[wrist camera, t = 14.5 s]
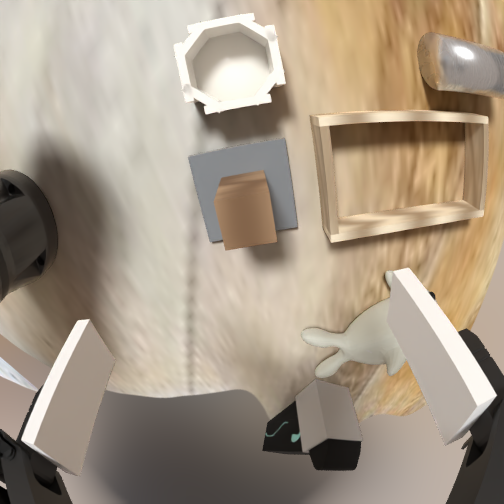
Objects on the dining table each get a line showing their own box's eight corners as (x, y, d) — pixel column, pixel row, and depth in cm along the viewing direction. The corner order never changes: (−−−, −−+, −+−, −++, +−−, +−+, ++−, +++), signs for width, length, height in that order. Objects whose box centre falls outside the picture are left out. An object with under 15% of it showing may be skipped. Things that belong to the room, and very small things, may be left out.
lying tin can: (425, 94, 22) (459, 83, 17) (411, 42, 21) (440, 24, 15) (487, 100, 22) (520, 96, 16) (475, 54, 20) (505, 44, 14)
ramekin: (196, 117, 25) (187, 120, 21) (179, 39, 21) (168, 29, 17) (284, 101, 24) (290, 101, 21) (268, 21, 20) (271, 9, 17)
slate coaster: (210, 239, 31) (210, 242, 30) (189, 155, 26) (188, 156, 26) (296, 224, 30) (297, 227, 29) (284, 137, 26) (284, 138, 25)
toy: (424, 337, 40) (450, 383, 31) (315, 375, 42) (326, 429, 34) (431, 248, 32) (474, 294, 23) (290, 293, 34) (302, 357, 26)
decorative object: (257, 426, 50) (260, 493, 37) (315, 378, 43) (331, 462, 30) (291, 432, 52) (298, 495, 39) (351, 387, 45) (371, 462, 32)
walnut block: (229, 216, 29) (225, 250, 23) (221, 177, 27) (213, 201, 21) (270, 209, 29) (277, 241, 22) (263, 169, 27) (269, 191, 20)
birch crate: (322, 227, 30) (331, 242, 27) (309, 115, 25) (318, 117, 22) (466, 205, 29) (483, 216, 26) (468, 112, 23) (488, 116, 20)
